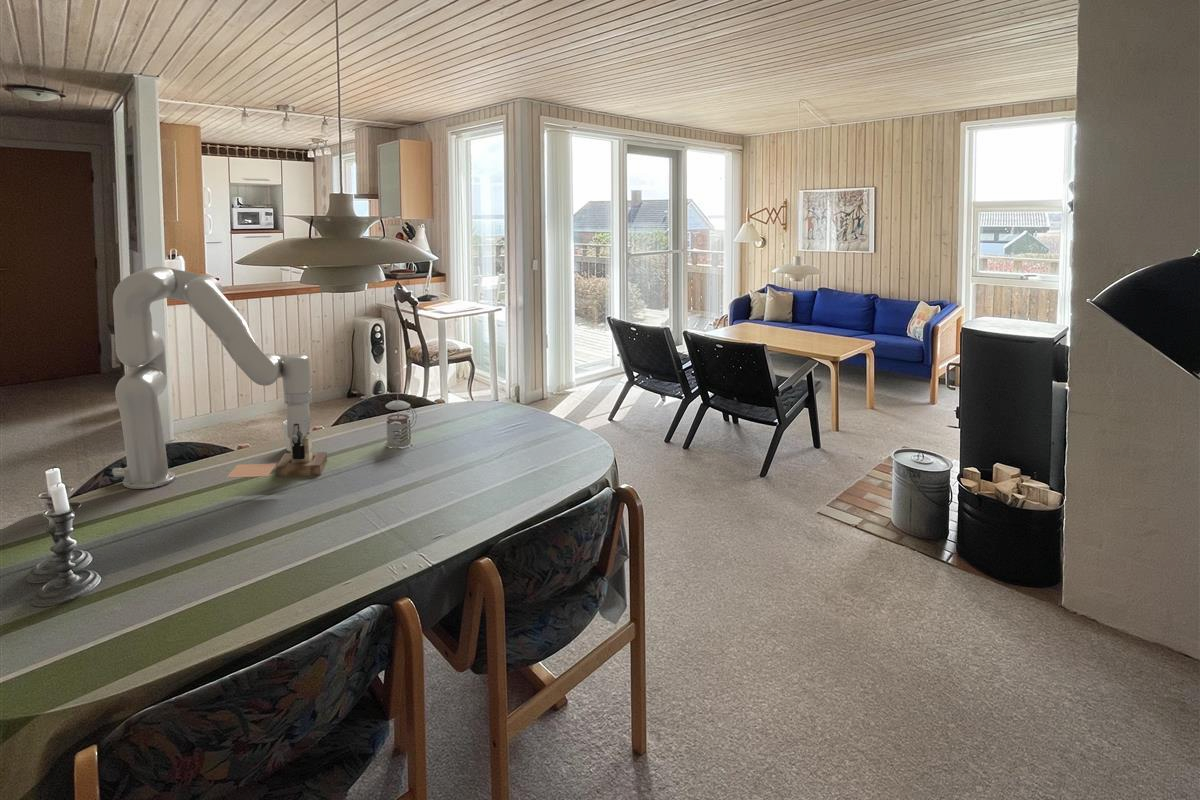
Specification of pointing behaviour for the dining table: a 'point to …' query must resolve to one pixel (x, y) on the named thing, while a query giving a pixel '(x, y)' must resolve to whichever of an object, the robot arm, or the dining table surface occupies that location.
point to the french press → (395, 438)
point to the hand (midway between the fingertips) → (301, 453)
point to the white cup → (287, 439)
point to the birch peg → (307, 448)
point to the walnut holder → (301, 465)
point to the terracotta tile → (251, 470)
